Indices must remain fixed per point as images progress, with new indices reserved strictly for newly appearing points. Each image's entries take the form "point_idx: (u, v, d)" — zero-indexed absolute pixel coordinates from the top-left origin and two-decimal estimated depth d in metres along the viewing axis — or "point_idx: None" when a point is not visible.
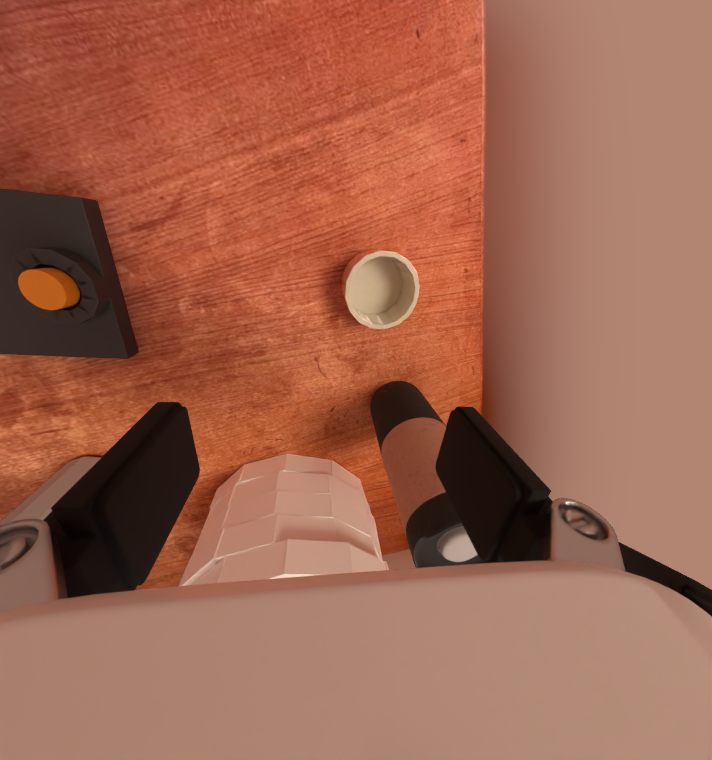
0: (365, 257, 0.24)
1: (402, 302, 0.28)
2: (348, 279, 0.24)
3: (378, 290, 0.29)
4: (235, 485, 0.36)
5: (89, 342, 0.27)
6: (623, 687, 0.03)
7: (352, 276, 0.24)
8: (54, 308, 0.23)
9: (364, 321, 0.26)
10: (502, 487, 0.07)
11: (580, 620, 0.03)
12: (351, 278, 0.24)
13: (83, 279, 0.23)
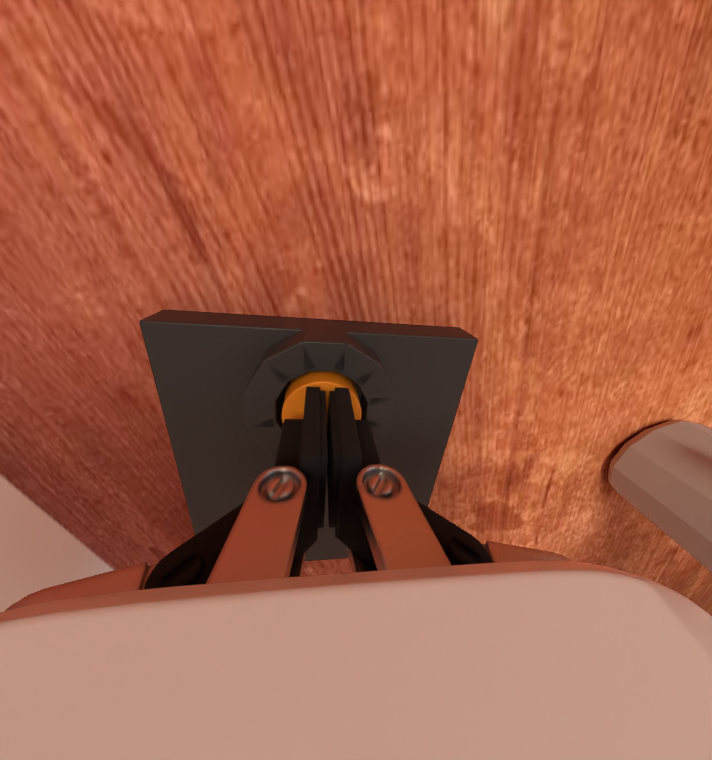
0: None
1: None
2: None
3: None
4: None
5: (431, 396, 0.14)
6: (623, 687, 0.03)
7: None
8: (358, 409, 0.11)
9: None
10: (332, 456, 0.08)
11: (580, 620, 0.03)
12: None
13: (300, 357, 0.10)
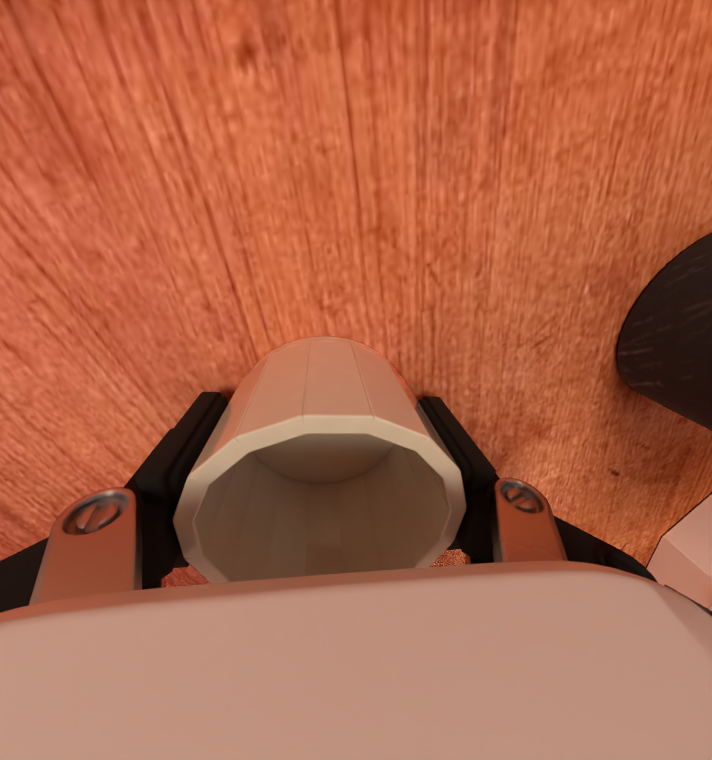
0: None
1: None
2: None
3: None
4: None
5: None
6: (623, 687, 0.03)
7: None
8: None
9: (425, 560, 0.08)
10: None
11: (580, 620, 0.03)
12: None
13: None
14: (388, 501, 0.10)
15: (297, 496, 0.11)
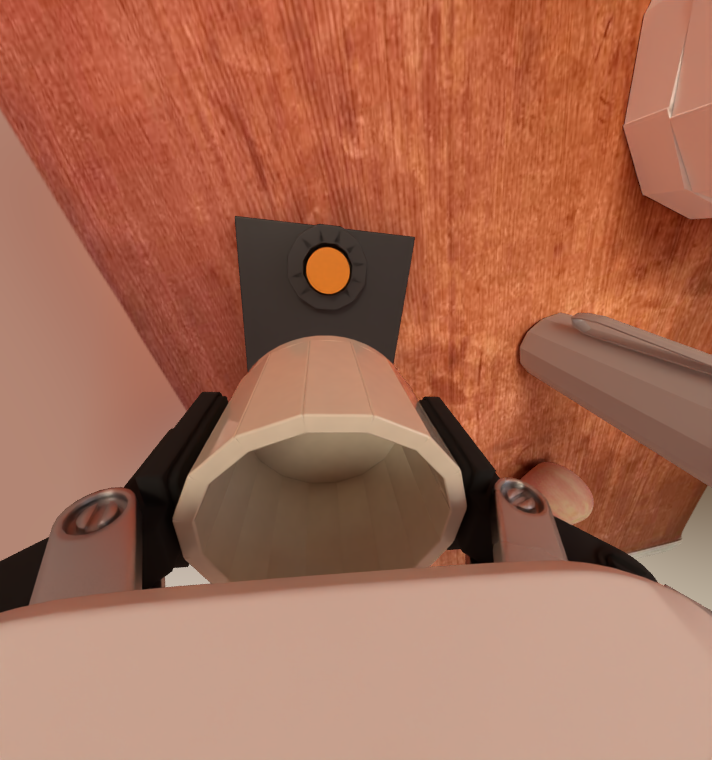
0: None
1: None
2: None
3: None
4: (673, 115, 0.19)
5: (390, 274, 0.23)
6: (623, 687, 0.03)
7: None
8: (347, 268, 0.20)
9: (426, 559, 0.08)
10: None
11: (580, 620, 0.03)
12: None
13: (317, 233, 0.20)
14: (388, 501, 0.10)
15: (297, 496, 0.11)
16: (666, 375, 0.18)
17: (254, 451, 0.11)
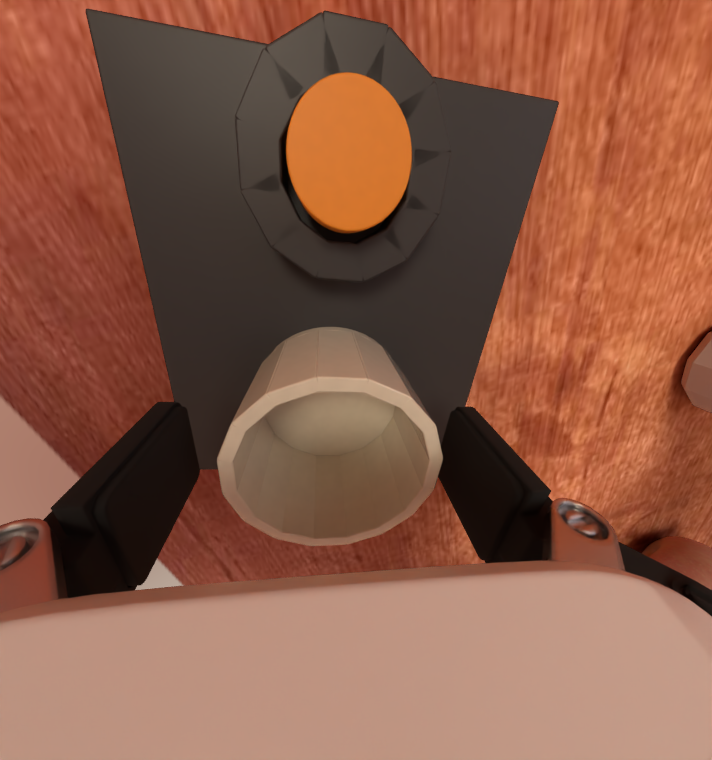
0: (247, 521, 0.09)
1: None
2: (305, 543, 0.10)
3: (341, 394, 0.12)
4: None
5: (487, 202, 0.10)
6: (623, 687, 0.03)
7: (297, 538, 0.10)
8: (407, 149, 0.07)
9: (412, 505, 0.10)
10: (502, 487, 0.07)
11: (580, 620, 0.03)
12: (302, 539, 0.10)
13: (318, 45, 0.07)
14: (383, 466, 0.12)
15: (306, 464, 0.13)
16: None
17: (270, 425, 0.13)
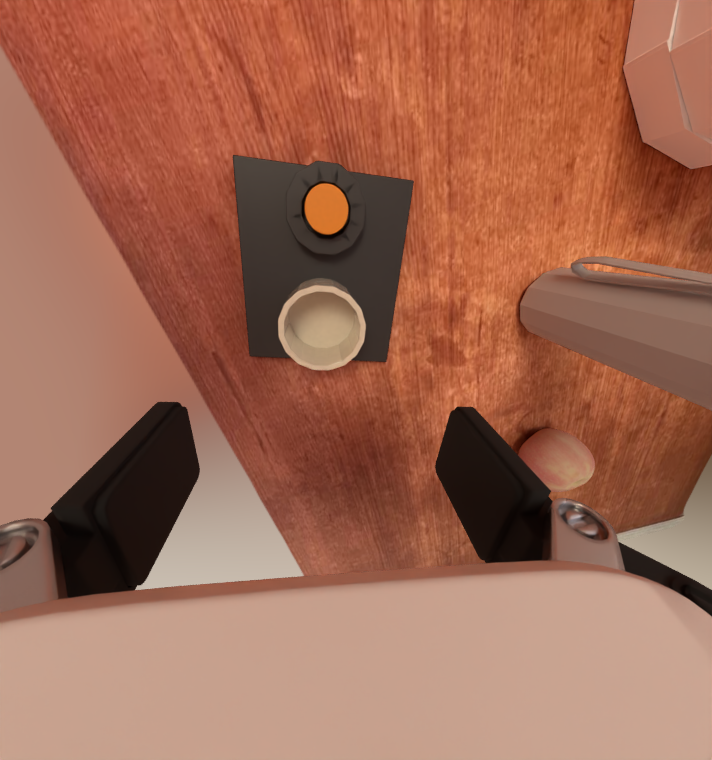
0: (287, 352, 0.22)
1: None
2: (310, 367, 0.23)
3: (327, 312, 0.26)
4: (673, 47, 0.19)
5: (389, 221, 0.23)
6: (623, 687, 0.03)
7: (307, 364, 0.23)
8: (346, 206, 0.20)
9: (355, 349, 0.23)
10: (502, 487, 0.07)
11: (580, 620, 0.03)
12: (309, 365, 0.23)
13: (315, 171, 0.20)
14: (347, 345, 0.25)
15: (310, 348, 0.26)
16: (667, 303, 0.18)
17: (292, 328, 0.26)
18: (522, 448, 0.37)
